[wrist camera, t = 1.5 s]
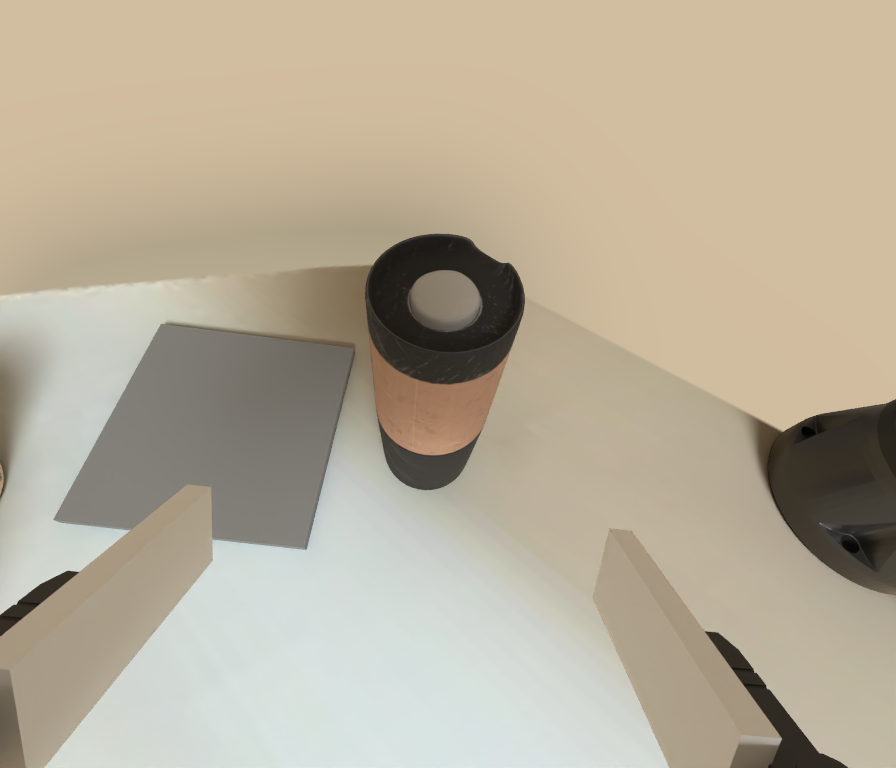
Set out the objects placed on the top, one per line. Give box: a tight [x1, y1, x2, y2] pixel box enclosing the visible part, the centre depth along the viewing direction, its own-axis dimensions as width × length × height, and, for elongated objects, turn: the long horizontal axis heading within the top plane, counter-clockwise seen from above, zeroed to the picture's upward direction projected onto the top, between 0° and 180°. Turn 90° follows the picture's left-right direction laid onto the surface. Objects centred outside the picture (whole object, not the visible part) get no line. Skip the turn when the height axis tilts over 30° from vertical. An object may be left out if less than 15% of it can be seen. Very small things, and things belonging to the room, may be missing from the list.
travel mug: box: [365, 234, 525, 490], centre depth 28 cm, size 8×8×20 cm
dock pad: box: [53, 324, 355, 550], centre depth 36 cm, size 18×18×1 cm
